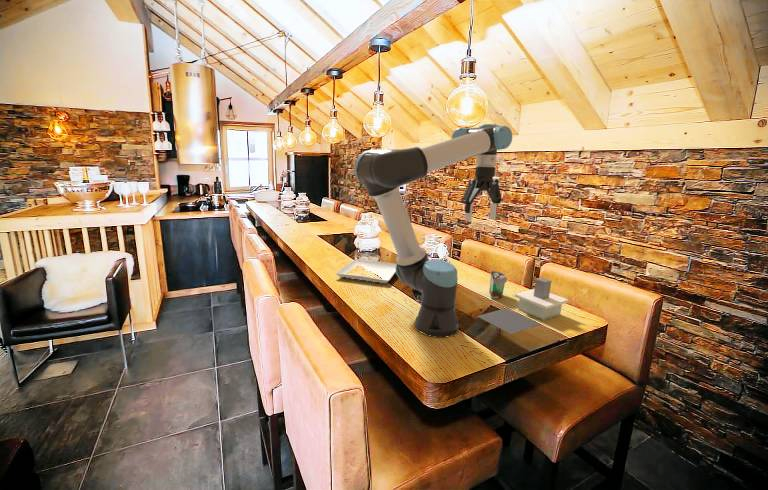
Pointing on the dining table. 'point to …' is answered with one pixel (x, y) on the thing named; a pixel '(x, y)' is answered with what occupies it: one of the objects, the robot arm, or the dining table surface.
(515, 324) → the mat
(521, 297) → the lid
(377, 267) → the square plate
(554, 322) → the dining table surface
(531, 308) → the open square box
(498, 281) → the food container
